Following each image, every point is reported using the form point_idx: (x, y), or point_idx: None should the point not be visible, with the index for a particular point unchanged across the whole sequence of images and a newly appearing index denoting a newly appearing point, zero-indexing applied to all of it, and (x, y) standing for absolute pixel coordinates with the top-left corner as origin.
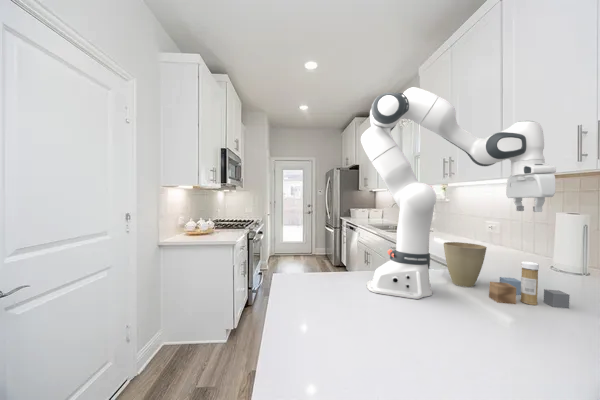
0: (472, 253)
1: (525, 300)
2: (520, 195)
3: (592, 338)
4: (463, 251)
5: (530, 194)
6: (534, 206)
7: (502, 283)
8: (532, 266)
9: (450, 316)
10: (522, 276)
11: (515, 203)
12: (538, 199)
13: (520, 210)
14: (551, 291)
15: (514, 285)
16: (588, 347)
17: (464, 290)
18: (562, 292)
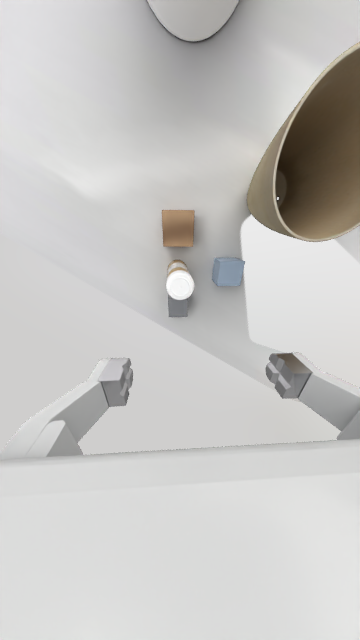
0: (267, 169)
1: (171, 262)
2: (285, 476)
3: (67, 270)
4: (283, 128)
5: (20, 510)
6: (100, 380)
7: (186, 233)
8: (166, 282)
9: (22, 23)
10: (178, 267)
11: (345, 387)
12: (14, 444)
13: (271, 361)
14: (178, 303)
15: (216, 272)
16: (31, 247)
17: (223, 175)
18: (178, 315)
